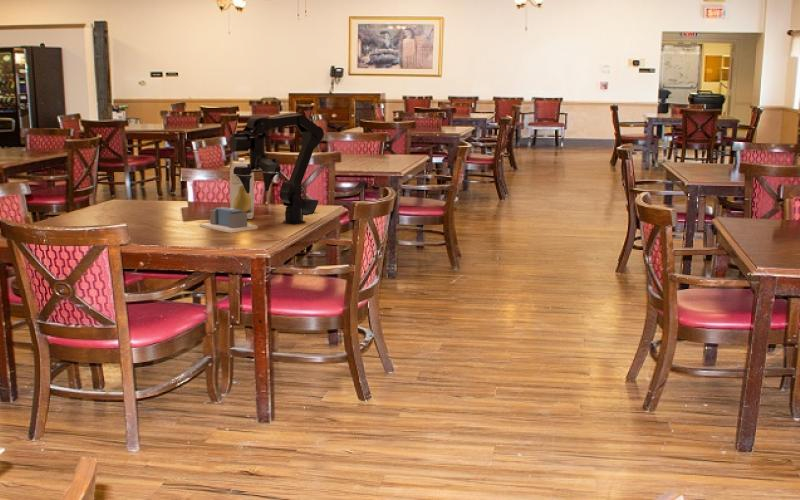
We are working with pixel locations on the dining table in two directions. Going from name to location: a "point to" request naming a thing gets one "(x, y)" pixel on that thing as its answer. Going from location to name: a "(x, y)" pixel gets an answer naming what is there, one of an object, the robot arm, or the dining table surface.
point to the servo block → (225, 215)
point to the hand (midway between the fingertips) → (257, 192)
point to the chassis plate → (227, 229)
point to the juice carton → (241, 190)
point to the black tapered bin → (310, 206)
